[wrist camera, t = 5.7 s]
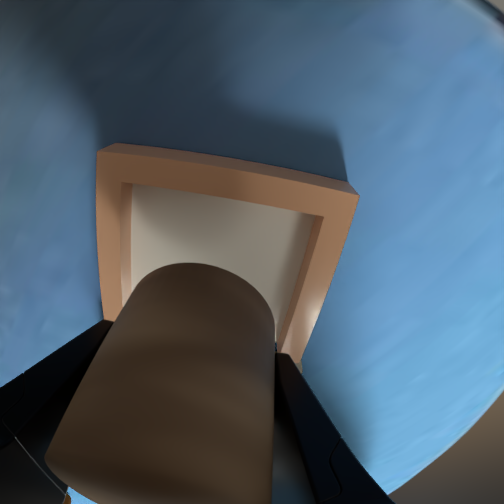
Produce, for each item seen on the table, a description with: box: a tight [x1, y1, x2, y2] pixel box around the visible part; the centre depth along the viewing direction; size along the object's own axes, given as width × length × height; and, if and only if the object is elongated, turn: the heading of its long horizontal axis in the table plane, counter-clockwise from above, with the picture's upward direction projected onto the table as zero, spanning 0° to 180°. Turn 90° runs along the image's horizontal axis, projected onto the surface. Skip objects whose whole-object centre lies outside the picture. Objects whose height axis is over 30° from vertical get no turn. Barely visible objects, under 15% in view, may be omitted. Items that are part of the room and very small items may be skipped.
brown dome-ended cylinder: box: [44, 262, 275, 504], centre depth 7 cm, size 5×5×6 cm
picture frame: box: [96, 143, 360, 363], centre depth 13 cm, size 9×8×2 cm
